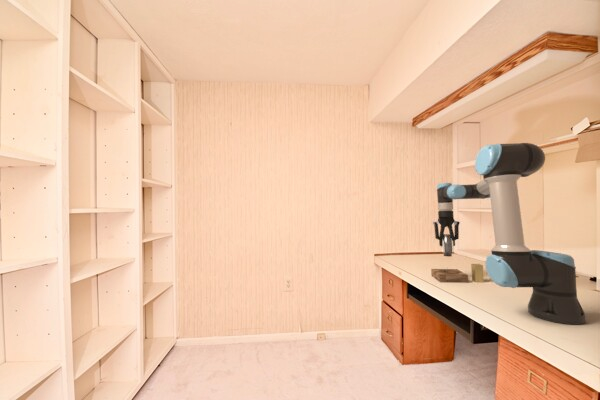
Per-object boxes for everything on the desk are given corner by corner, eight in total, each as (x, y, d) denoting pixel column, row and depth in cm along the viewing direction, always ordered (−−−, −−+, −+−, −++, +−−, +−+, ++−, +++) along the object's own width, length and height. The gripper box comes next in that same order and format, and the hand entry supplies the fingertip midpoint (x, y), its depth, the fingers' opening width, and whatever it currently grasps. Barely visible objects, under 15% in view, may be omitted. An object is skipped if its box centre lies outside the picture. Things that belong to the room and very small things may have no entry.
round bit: (452, 256, 147) (451, 234, 147) (445, 256, 148) (444, 234, 148) (450, 255, 151) (449, 234, 151) (442, 255, 152) (441, 234, 152)
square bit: (483, 282, 140) (482, 265, 141) (475, 282, 141) (474, 265, 141) (480, 280, 144) (479, 263, 145) (472, 280, 145) (471, 263, 145)
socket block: (468, 282, 141) (467, 275, 141) (439, 282, 143) (439, 274, 143) (457, 276, 154) (456, 269, 155) (431, 275, 157) (431, 268, 157)
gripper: (459, 209, 152) (461, 250, 152) (427, 210, 155) (429, 250, 154) (464, 210, 145) (467, 253, 144) (431, 210, 148) (433, 253, 147)
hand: (447, 251), depth 149 cm, fingers closed on round bit, 4 cm apart
